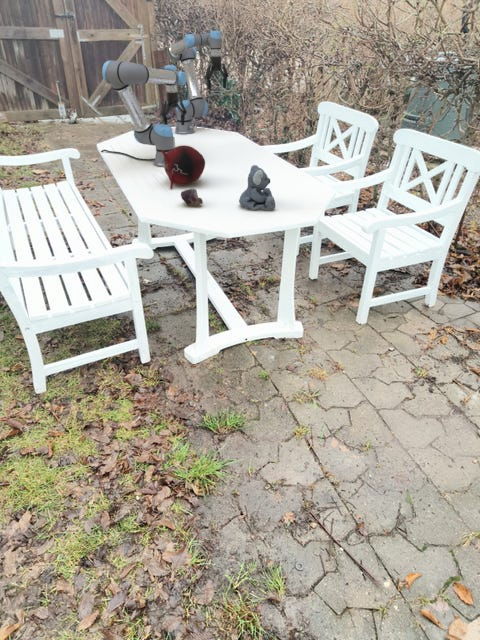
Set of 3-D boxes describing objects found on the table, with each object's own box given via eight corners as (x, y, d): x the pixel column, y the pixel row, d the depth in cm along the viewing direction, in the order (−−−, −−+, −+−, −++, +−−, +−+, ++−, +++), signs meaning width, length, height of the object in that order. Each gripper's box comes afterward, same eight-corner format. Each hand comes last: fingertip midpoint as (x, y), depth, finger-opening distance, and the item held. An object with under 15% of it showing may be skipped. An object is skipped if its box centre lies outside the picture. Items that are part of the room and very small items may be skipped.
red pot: (163, 151, 265) (157, 149, 242) (201, 142, 264) (199, 140, 241) (172, 187, 272) (167, 189, 248) (209, 179, 271) (208, 180, 248)
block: (168, 152, 319) (166, 138, 313) (162, 149, 325) (160, 136, 319) (175, 150, 322) (174, 137, 316) (169, 148, 328) (168, 134, 322)
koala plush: (276, 211, 223) (277, 171, 212) (240, 212, 222) (240, 172, 211) (271, 199, 237) (272, 161, 226) (237, 200, 236) (237, 162, 225)
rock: (196, 202, 238) (178, 205, 233) (194, 185, 234) (176, 188, 230) (205, 205, 228) (187, 208, 224) (203, 188, 224) (185, 191, 220)
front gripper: (158, 94, 290) (161, 129, 302) (190, 91, 303) (192, 124, 315) (152, 93, 295) (156, 127, 307) (184, 89, 308) (186, 123, 320)
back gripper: (204, 57, 315) (205, 91, 327) (233, 55, 327) (233, 87, 339) (198, 56, 320) (200, 89, 332) (227, 54, 332) (227, 86, 344)
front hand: (174, 126), depth 311 cm, fingers open, 13 cm apart
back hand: (217, 89), depth 336 cm, fingers open, 13 cm apart
